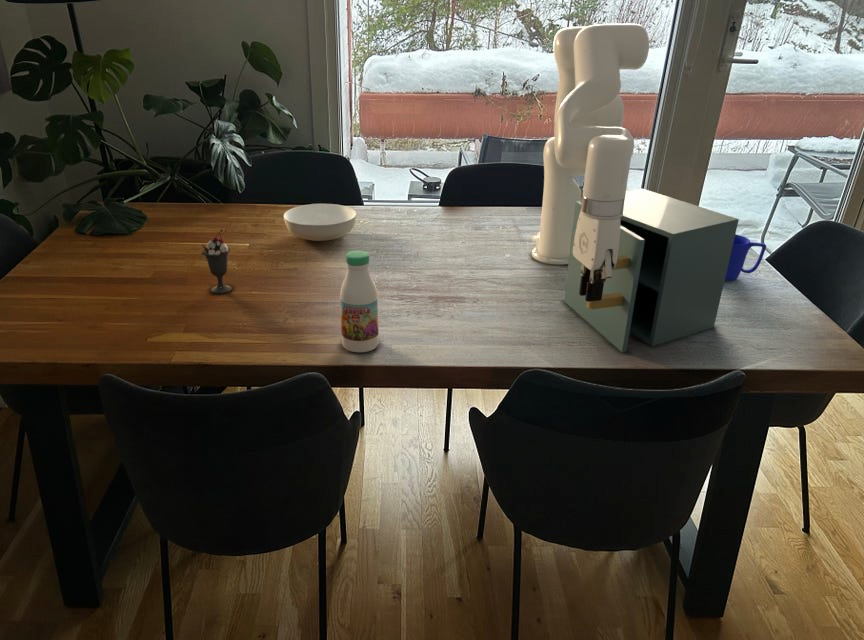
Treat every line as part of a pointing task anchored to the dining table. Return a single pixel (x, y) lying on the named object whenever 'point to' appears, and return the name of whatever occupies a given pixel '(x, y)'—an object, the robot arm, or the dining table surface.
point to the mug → (741, 257)
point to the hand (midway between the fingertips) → (590, 296)
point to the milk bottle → (359, 305)
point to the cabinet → (677, 264)
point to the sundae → (217, 262)
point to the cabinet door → (608, 288)
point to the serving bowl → (320, 221)
